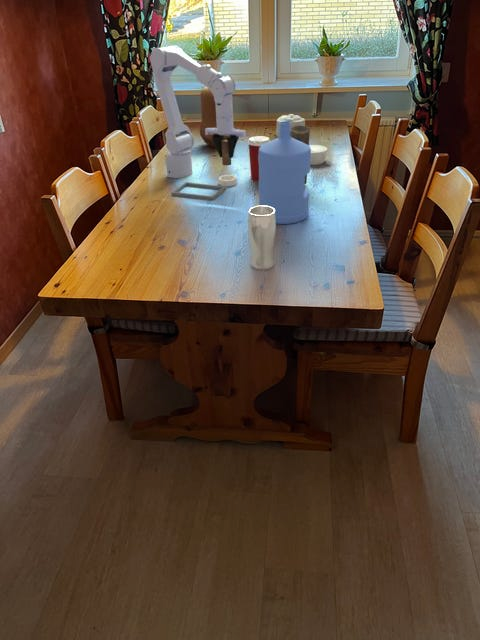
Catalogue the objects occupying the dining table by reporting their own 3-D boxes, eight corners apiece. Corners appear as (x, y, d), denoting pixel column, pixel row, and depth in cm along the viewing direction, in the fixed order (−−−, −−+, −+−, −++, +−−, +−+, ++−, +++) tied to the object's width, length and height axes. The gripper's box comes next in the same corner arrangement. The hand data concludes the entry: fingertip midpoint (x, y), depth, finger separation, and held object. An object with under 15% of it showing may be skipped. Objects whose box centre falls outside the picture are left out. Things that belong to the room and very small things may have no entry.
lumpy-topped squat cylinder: (278, 132, 242) (278, 113, 237) (305, 132, 239) (306, 113, 234) (275, 137, 233) (275, 118, 228) (303, 138, 231) (304, 118, 226)
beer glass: (247, 259, 133) (246, 206, 125) (273, 257, 133) (273, 204, 125) (250, 271, 127) (249, 216, 119) (277, 269, 128) (277, 215, 119)
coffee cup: (268, 184, 181) (268, 141, 172) (246, 183, 183) (245, 141, 174) (272, 176, 188) (272, 135, 179) (250, 175, 189) (249, 135, 181)
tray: (171, 197, 173) (171, 192, 172) (186, 186, 181) (185, 182, 180) (213, 202, 168) (213, 197, 167) (226, 191, 176) (226, 186, 175)
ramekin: (295, 164, 199) (295, 151, 196) (303, 156, 207) (303, 143, 204) (322, 167, 195) (323, 153, 192) (329, 158, 204) (330, 145, 201)
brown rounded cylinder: (309, 183, 180) (311, 125, 169) (304, 190, 175) (307, 131, 163) (288, 181, 183) (290, 124, 171) (283, 188, 177) (284, 130, 166)
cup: (216, 187, 180) (215, 179, 178) (223, 181, 185) (223, 174, 183) (232, 189, 178) (232, 181, 176) (239, 183, 183) (239, 175, 181)
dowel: (220, 165, 176) (219, 142, 172) (224, 162, 179) (223, 139, 174) (229, 165, 175) (228, 142, 171) (232, 163, 178) (231, 140, 173)
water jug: (275, 229, 148) (275, 132, 132) (250, 212, 160) (248, 121, 144) (318, 218, 154) (323, 124, 138) (291, 202, 166) (293, 113, 150)
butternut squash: (236, 144, 226) (234, 84, 212) (220, 151, 217) (216, 89, 203) (211, 140, 232) (208, 82, 218) (194, 148, 223) (189, 87, 209)
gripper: (200, 117, 167) (203, 158, 175) (239, 120, 162) (241, 161, 170) (209, 113, 172) (211, 152, 180) (247, 115, 168) (248, 155, 175)
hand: (226, 156), depth 175 cm, fingers closed on dowel, 3 cm apart
